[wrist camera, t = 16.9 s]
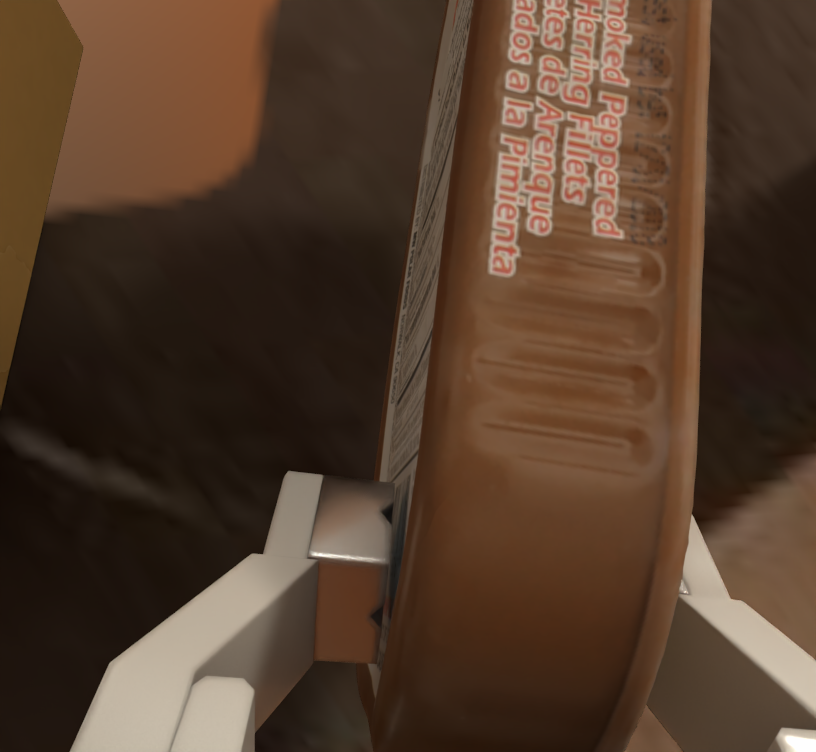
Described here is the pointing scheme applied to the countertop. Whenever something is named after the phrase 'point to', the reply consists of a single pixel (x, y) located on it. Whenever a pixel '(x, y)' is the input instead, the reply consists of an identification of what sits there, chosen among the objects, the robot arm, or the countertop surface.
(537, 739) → the tin
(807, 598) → the countertop surface
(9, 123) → the tan cardboard-coloured block
